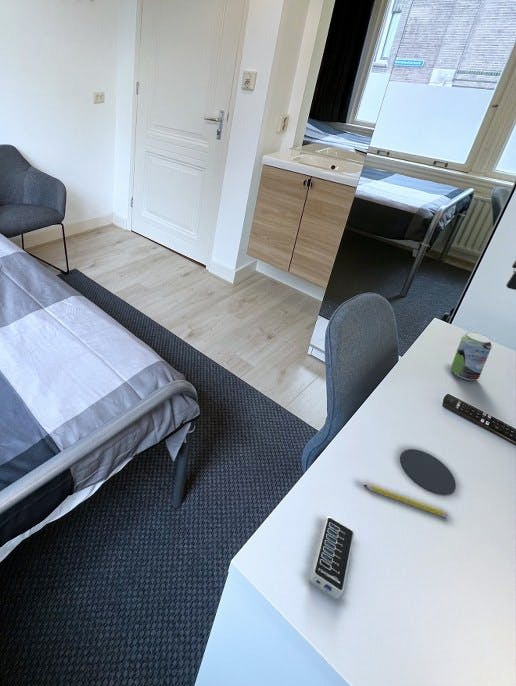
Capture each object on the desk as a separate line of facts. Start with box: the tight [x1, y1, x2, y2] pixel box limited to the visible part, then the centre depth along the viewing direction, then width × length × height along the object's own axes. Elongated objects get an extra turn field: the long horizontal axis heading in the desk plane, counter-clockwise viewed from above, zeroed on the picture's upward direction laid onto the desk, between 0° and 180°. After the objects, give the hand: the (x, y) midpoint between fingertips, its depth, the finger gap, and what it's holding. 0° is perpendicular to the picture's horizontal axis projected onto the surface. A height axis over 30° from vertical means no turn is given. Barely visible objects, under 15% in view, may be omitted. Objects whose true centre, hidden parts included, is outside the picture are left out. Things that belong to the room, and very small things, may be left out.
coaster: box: [399, 448, 457, 495], centre depth 85 cm, size 10×10×1 cm
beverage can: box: [450, 331, 493, 381], centre depth 109 cm, size 6×7×12 cm
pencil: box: [363, 484, 448, 519], centre depth 79 cm, size 1×14×1 cm, turn 69°
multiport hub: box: [308, 515, 355, 600], centre depth 68 cm, size 4×11×2 cm, turn 145°
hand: (515, 296), depth 101 cm, fingers open, 8 cm apart
